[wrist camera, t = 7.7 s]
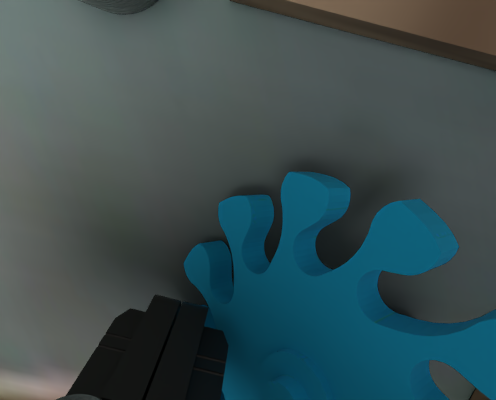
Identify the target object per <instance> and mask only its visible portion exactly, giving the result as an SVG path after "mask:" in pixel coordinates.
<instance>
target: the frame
mask: <svg viewBox="0 0 496 400" xmlns="http://www.w3.org/2000/svg"><path fill="white" fill-rule="evenodd" d="M230 1H233V2H236V3H240V4H244V5H248V6H252V7H255V8H259V9H263V10H267V11H271V12H274V13H278V14H282V15H286V16H290V17H293V18H297V19H301V20H305V21H309V22H312V23H316V24H320V25H324V26H328V27H331V28H335V29H339V30H343V31H346V32H350V33H354V34H358V35H362V36H365V37H369V38H373V39H377V40H381V41H384V42H388V43H392V44H396V45H400V46H403V47H407V48H411V49H415V50H419V51H422V52H426V53H430V54H434V55H438V56H441V57H445V58H449V59H453V60H457V61H460V62H464V63H468V64H472V65H475V66H479V67H483V68H487V69H491V70H494V71H496V0H230ZM470 400H491V399H489V398H488V397H487V396H485V395H484V394H483V393H481V392H480V391H479V390H478V389H477V388H476V389H475V391H474V393H473V395H472V397H471V399H470Z"/></svg>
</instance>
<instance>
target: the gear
mask: <svg viewBox="0 0 496 400" xmlns="http://www.w3.org/2000/svg"><path fill="white" fill-rule="evenodd" d="M350 196H351V193H350V188H349V187H348V186H347V185H346V184H344V183H343V182H342V181H340V180H338V179H336V178H334V177H331V176H328V175H325V174H320V173H315V172H289V173H288V174H287V175H286V177H285V179H284V181H283V183H282V187H281V203H282V210H283V225H282V234H281V238H280V242H279V246H278V248H277V251H276V253H275V256H274V258H273V260H272V261H271V263H269V261H268V260H267V258H266V255H265V251H264V242H265V238H266V236H267V234H268V232H269V230H270V228H271V225H272V223H273V219H274V207H273V203H272V200H271V198H270V196H269V195H263V194H261V195H240V196H233V197H230V198H227V199H225V200H223V201H221V202H219V207H218V217H219V222H220V225H221V227H222V229H223V231H224V233H225V235H226V237H227V240H228V243H229V245H230V249H231V253H232V259H233V265H234V286H233V283H232V259H231V254H230V251H229V249H228V247H227V245H226V244H225V243H224V242H223V241H222V240H220V241H213V242H206V243H199V244H198V245H196V246H195V247H194V248H193V249H192V250H191V251H190V253H189V254H188V256H187V258H186V260H185V261H184V269H185V272H186V275H187V277H188V279H189V280H190V282H191V283H192V284H193V285H195V286H196V287H197V289H198V290H199V291H200V292H201V293H202V295H203V297H204V298H205V300H206V302H207V304H208V306H209V308H208V313H207V317H206V321H205V325H204V326H205V327H209V328H213V329H218V330H222V331H223V332H224V335H225V337H226V340H227V343H228V345H229V346H228V353H227V360H226V366H225V373H224V379H223V386H222V393H221V399H220V400H449V399H448V398H447V397H446V396H445V395H444V394H443V393H442V392H441V391H440V390H439V388H438V387H437V386H436V385H435V383H434V381H433V380H432V377H431V375H430V371H429V360H437V361H440V362H444V363H446V364H448V365H450V366H451V367H453V368H454V369H455V370H457V371H458V372H459V373H460V374H461V375H463V376H464V377H465V378H466V379H467V380H468V381H469V382H470V383H471V384H472V385H474V386H475V387H476V388H477V389H478V390H479V391H480V392H481V393H483V394H484V395H485V396H487V397H488V398H489V399H491V400H496V309H495V310H493V311H491V312H489V313H487V314H485V315H484V316H482V317H479V318H476V319H472V320H469V321H466V322H459V323H450V324H448V323H432V322H427V321H423V320H418V319H415V318H411V317H408V316H406V315H401V314H398V313H396V312H394V311H392V310H391V309H390V308H388V307H387V306H386V305H385V304H384V302H383V301H382V299H381V297H380V295H379V292H378V286H377V285H378V278H379V275H380V273H381V271H382V270H383V271H387V272H392V273H396V274H401V275H418V274H421V273H424V272H426V271H429V270H431V269H433V268H436V267H438V266H441V265H443V264H445V263H447V262H448V261H449V260H451V259H452V257H453V256H454V255H455V254H456V252H457V250H458V248H459V245H458V243H457V241H456V239H455V237H454V235H453V233H452V232H451V230H450V229H449V228H448V226H447V225H446V223H445V222H444V221H443V220H442V219H441V218H440V217H439V216H438V215H437V214H436V213H435V212H434V211H433V210H432V209H431V208H430V207H429V206H428V205H426V204H425V203H424V202H423V201H422V200H421V199H413V200H402V201H396V202H392V203H390V204H388V205H386V206H384V207H383V208H382V209H381V210H380V211H378V212H377V214H376V215H375V217H374V219H373V221H372V224H371V227H370V230H369V233H368V235H367V237H366V239H365V240H364V242H363V244H362V246H361V247H360V249H359V250H358V251H357V252H356V254H355V255H354V256H353V257H352V258H351V259H350V260H348V261H347V262H346V263H345V264H344V265H342V266H340V267H338V268H336V269H334V270H332V269H329V268H328V267H326V266H325V265H324V264H323V263H322V262H321V261H320V259H319V258H318V256H317V253H316V248H315V242H316V237H317V235H318V233H319V232H320V230H321V229H323V228H324V227H325V226H327V225H329V224H331V223H333V222H335V221H337V220H338V219H340V218H341V217H342V216H343V215H344V214H345V212H346V211H347V209H348V206H349V203H350ZM200 306H205V307H208V306H206V305H200Z"/></svg>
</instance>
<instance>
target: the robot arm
mask: <svg viewBox="0 0 496 400" xmlns="http://www.w3.org/2000/svg"><path fill="white" fill-rule="evenodd" d="M180 307H181V308H180ZM208 308H209V307H205V306H200V305H196V304H192V303H188V302H184V301H183V303H182V305H181V301H179V300H175V299H171V298H167V297H163V296H159V295H155V296H154V297H153V299H152V301H151V303H150V305H149V307H148V309H147V311H146V312H143V311H139V310H135V309H129V310H127V311H126V312H124V313H123V314H121V315H120V316H118V317H116V318H115V319H114V321H113V323H112V324H111V326H110V327H109V329H108V330H107V332H106V335H104V337H103V338H102V340H101V341H100V343H99V346H98V347H97V348H96V349H95V351H94V352H93V354H92V356H91V357H90V359H89V360H88V362H87V363H86V365H85V367H84V368H83V370H82V371H81V373H80V374H79V376H78V378H77V379H76V381H75V382H74V384H73V385H72V387H71V389H70V390H69V392H68V393H67V395H66V396H64V397H61V398H59V399H56V400H220V399H221V393H222V386H223V379H224V373H225V366H226V360H227V353H228V346H229V345H228V343H227V340H226V337H225V335H224V332H223V331H222V330H218V329H213V328H209V327H205V326H204V325H205V321H206V317H207V313H208Z"/></svg>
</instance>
